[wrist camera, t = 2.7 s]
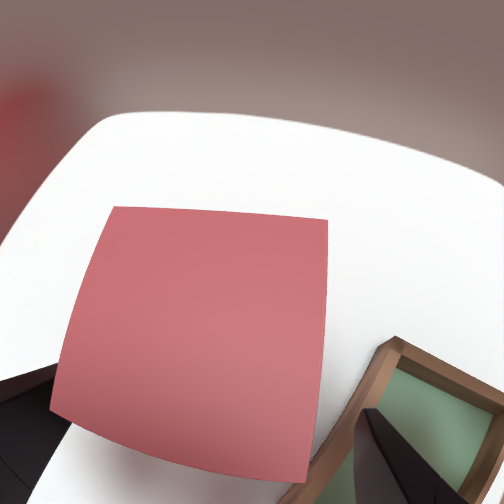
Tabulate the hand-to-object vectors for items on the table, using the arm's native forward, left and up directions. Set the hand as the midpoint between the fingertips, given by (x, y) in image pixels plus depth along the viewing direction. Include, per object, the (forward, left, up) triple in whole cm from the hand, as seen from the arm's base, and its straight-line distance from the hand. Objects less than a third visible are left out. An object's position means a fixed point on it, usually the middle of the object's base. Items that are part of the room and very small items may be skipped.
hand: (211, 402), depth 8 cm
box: (+1, -12, -9) cm, 15 cm away
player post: (+1, +1, -9) cm, 9 cm away
